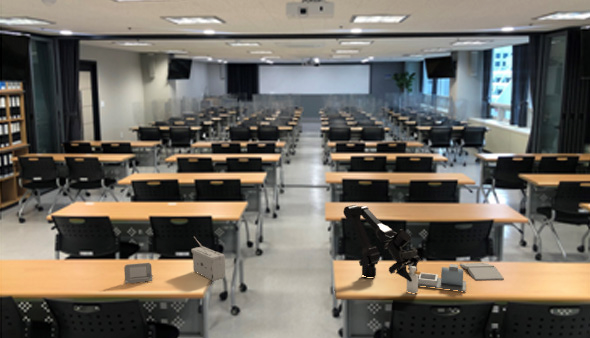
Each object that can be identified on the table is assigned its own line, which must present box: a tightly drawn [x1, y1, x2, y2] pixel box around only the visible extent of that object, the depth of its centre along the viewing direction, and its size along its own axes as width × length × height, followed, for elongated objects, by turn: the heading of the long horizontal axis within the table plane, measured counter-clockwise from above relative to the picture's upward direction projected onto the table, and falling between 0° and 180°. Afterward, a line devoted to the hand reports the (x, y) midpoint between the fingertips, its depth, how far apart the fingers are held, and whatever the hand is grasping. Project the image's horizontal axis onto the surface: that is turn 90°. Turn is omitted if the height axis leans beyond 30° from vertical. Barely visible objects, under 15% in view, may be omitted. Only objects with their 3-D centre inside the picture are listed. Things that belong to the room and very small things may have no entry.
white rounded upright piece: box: [406, 266, 422, 293], centre depth 241 cm, size 7×5×12 cm
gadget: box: [459, 262, 505, 281], centre depth 268 cm, size 23×15×4 cm, turn 2°
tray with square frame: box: [418, 263, 467, 293], centre depth 251 cm, size 24×13×10 cm, turn 70°
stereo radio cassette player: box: [191, 236, 226, 282], centre depth 266 cm, size 21×8×20 cm, turn 42°
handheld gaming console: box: [123, 262, 154, 285], centre depth 261 cm, size 13×9×10 cm
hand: (414, 279), depth 240 cm, fingers closed on white rounded upright piece, 5 cm apart
